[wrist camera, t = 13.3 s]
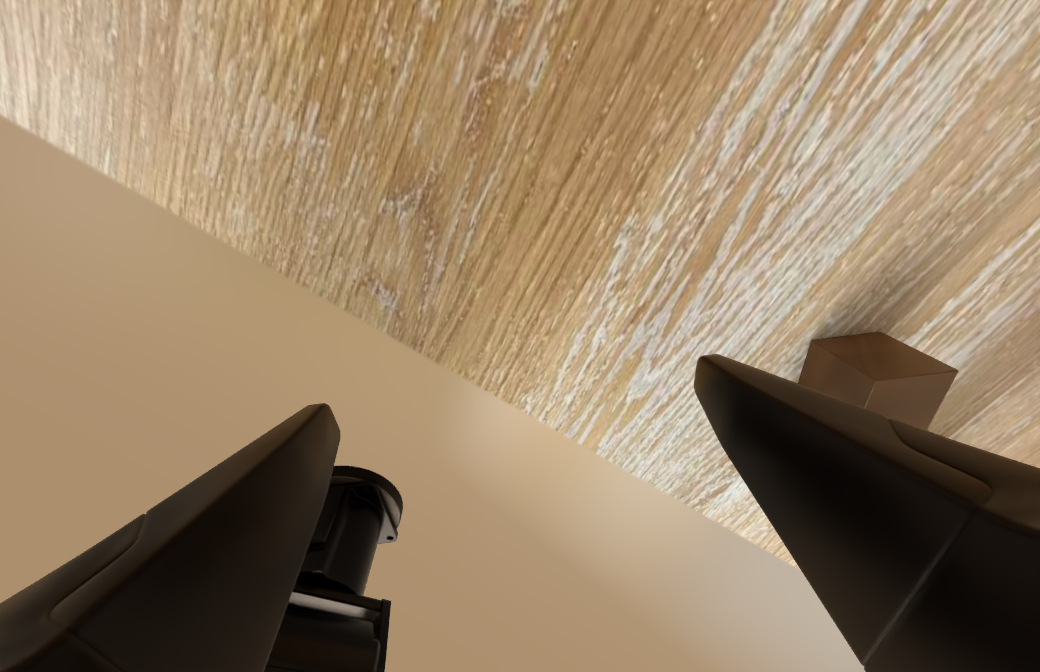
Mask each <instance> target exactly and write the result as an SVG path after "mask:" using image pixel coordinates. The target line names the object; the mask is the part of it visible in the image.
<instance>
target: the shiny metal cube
mask: <svg viewBox="0 0 1040 672" xmlns="http://www.w3.org/2000/svg"><path fill="white" fill-rule="evenodd" d="M957 373H958V370H957V369H955V368H953V367H951V366H949V365H947V364H945V363H943V362H941V361H939V360H937V359H935V358H933V357H930V356H928V355H926V354H924V353H922V352H920V351H918V350H916V349H914V348H912V347H910V346H908V345H906V344H904V343H902V342H900V341H898V340H896V339H894V338H892V337H890V336H888V335H886V334H884V333H882V332H876V333H868V334H860V335H852V336H844V337H836V338H828V339H820V340H812V341H811V344H810V348H809V351H808V354H807V357H806V361H805V364H804V367H803V371H802V374H801V377H800V380H799V384H800V385H803V386H805V387H808V388H811V389H814V390H816V391H819V392H822V393H825V394H827V395H830V396H833V397H835V398H838V399H841V400H844V401H846V402H849V403H852V404H854V405H857V406H860V407H863V408H865V409H868V410H871V411H874V412H876V413H879V414H882V415H884V416H886V417H887V419H888V418H893V419H896V420H898V421H901V422H904V423H906V424H909V425H912V426H915V427H917V428H920V429H923V430H927V429H928V427H929V425H930V423H931V421H932V419H933V418H934V416H935V414H936V412H937V410H938V408H939V406H940V405H941V403H942V401H943V399H944V397H945V395H946V394H947V392H948V390H949V388H950V386H951V384H952V382H953V381H954V379H955V377H956V375H957Z"/></svg>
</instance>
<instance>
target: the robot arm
mask: <svg viewBox="0 0 1040 672" xmlns="http://www.w3.org/2000/svg"><path fill="white" fill-rule="evenodd" d="M694 389H695V393H696V395H697V397H698V399H699V401H700V403H701V405H702V407H703V409H704V411H705V414H706V416H707V418H708V420H709V422H710V424H711V426H712V428H713V430H714V432H715V434H716V436H717V438H718V440H719V442H720V443H721V445H722V447H723V449H724V450H725V452H726V454H727V455H728V457H729V458H730V460H731V461H732V463H733V465H734V466H735V468H736V469H737V471H738V472H739V474H740V475H741V477H742V479H743V480H744V482H745V483H746V485H747V486H748V488H749V490H750V491H751V493H752V494H753V496H754V497H755V499H756V500H757V502H758V504H759V505H760V507H761V508H762V510H763V511H764V513H765V515H766V516H767V518H768V519H769V521H770V522H771V524H772V525H773V527H774V529H775V530H776V532H777V533H778V535H779V536H780V538H781V540H782V541H783V543H784V544H785V546H786V547H787V549H788V550H789V552H790V554H791V555H792V557H793V558H794V560H795V561H796V563H797V565H798V566H799V568H800V569H801V571H802V572H803V574H804V575H805V577H806V578H807V580H808V581H809V583H810V585H811V586H812V588H813V589H814V591H815V593H816V594H817V596H818V597H819V599H820V600H821V602H822V603H823V605H824V607H825V608H826V610H827V611H828V613H829V614H830V616H831V618H832V619H833V621H834V622H835V624H836V625H837V627H838V629H839V630H840V631H841V633H842V635H843V636H844V638H845V639H846V641H847V642H848V644H849V646H850V647H851V649H852V650H853V652H854V654H855V655H856V657H857V658H858V660H859V661H860V663H861V664H862V665H863V666H865V667H864V670H865V671H866V672H1040V468H1037V467H1034V466H1031V465H1028V464H1024V463H1021V462H1018V461H1015V460H1012V459H1009V458H1006V457H1003V456H1000V455H997V454H993V453H990V452H987V451H984V450H981V449H978V448H975V447H972V446H969V445H966V444H963V443H960V442H957V441H954V440H951V439H948V438H946V437H943V436H940V435H937V434H934V433H932V432H929V431H926V430H923V429H920V428H917V427H915V426H912V425H909V424H906V423H904V422H901V421H898V420H896V419H893V418H888V419H887V417H886V416H884V415H882V414H879V413H876V412H874V411H871V410H868V409H865V408H863V407H860V406H857V405H854V404H852V403H849V402H846V401H844V400H841V399H838V398H835V397H833V396H830V395H827V394H825V393H822V392H819V391H816V390H814V389H811V388H808V387H805V386H803V385H800V384H797V383H795V382H792V381H789V380H786V379H784V378H781V377H778V376H776V375H773V374H770V373H767V372H765V371H762V370H759V369H757V368H754V367H751V366H748V365H746V364H743V363H740V362H737V361H735V360H732V359H729V358H727V357H724V356H721V355H718V354H712V355H704V356H701V357H699V359H698V361H697V366H696V373H695V380H694ZM339 441H340V429H339V427H338V424H337V422H336V420H335V417H334V415H333V413H332V410H331V409H330V407H329V405H327V404H325V403H323V404H314V405H309V406H307V407H305V408H303V409H302V410H300V411H299V412H297V413H296V414H294V415H293V416H291V417H290V418H288V419H287V420H285V421H284V422H282V423H281V424H279V425H278V426H276V427H275V428H273V429H272V430H270V431H268V432H267V433H265V434H264V435H262V436H261V437H260V438H258V439H257V440H255V441H253V442H252V443H250V444H249V445H247V446H246V447H244V448H243V449H241V450H240V451H238V452H237V453H235V454H233V455H232V456H231V457H229V458H227V459H226V460H224V461H223V462H221V463H220V464H218V465H217V466H215V467H214V468H212V469H211V470H209V471H208V472H206V473H205V474H203V475H202V476H200V477H199V478H197V479H196V480H194V481H192V482H191V483H190V484H188V485H186V486H185V487H183V488H182V489H180V490H179V491H177V492H176V493H174V494H173V495H171V496H170V497H168V498H167V499H165V500H164V501H162V502H161V503H159V504H158V505H156V506H154V507H153V508H151V509H150V510H148V511H147V513H146V514H142V515H141V516H139V517H138V518H136V519H134V520H133V521H132V522H130V523H128V524H127V525H125V526H124V527H122V528H121V529H119V530H118V531H116V532H115V533H113V534H111V535H110V536H108V537H107V538H105V539H104V540H103V541H101V542H99V543H97V544H96V545H94V546H93V547H91V548H90V549H88V550H87V551H85V552H83V553H82V554H80V555H79V556H77V557H76V558H74V559H72V560H71V561H69V562H67V563H66V564H64V565H63V566H61V567H59V568H58V569H56V570H54V571H53V572H51V573H49V574H48V575H46V576H45V577H43V578H41V579H40V580H38V581H36V582H35V583H33V584H31V585H30V586H28V587H26V588H25V589H23V590H21V591H20V592H18V593H17V594H15V595H13V596H12V597H10V598H8V599H7V600H5V601H3V602H2V603H0V672H384V670H385V662H386V651H387V639H388V629H389V617H390V606H391V601H389V600H385V599H382V600H377V599H373V598H369V597H365V596H363V594H364V590H365V587H366V583H367V579H368V576H369V572H370V569H371V565H372V561H373V557H374V554H375V550H376V547H377V544H381V543H389V542H394V541H396V539H397V535H398V532H397V530H396V527H395V525H394V522H393V520H392V517H391V515H390V512H389V510H388V507H387V505H386V502H385V500H384V497H383V495H382V492H381V490H380V487H379V485H378V483H377V482H376V481H374V480H364V481H356V482H348V483H340V484H333V485H329V484H330V479H331V475H332V471H333V467H334V462H335V458H336V454H337V450H338V445H339Z"/></svg>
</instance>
